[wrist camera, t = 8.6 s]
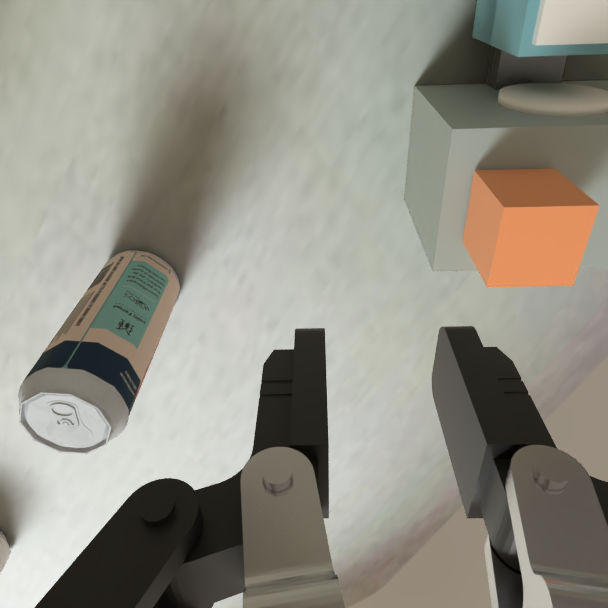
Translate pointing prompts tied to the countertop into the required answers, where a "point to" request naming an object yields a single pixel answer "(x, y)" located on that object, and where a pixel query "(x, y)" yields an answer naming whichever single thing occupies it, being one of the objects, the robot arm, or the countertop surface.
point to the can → (3, 551)
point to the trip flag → (527, 227)
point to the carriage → (543, 26)
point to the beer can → (100, 356)
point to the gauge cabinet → (502, 154)
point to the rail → (523, 69)
